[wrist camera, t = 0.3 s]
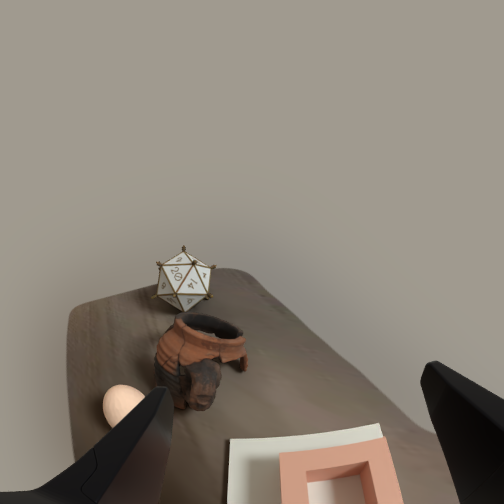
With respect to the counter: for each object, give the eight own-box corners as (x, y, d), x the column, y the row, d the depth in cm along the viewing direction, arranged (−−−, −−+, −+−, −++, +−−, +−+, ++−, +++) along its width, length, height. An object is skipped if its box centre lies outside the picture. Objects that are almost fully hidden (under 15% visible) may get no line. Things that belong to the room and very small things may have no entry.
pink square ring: (394, 533, 12) (408, 525, 10) (283, 553, 12) (284, 550, 11) (375, 452, 19) (385, 436, 18) (279, 466, 19) (279, 452, 18)
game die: (207, 326, 43) (235, 292, 36) (149, 328, 38) (166, 291, 32) (195, 275, 48) (219, 234, 41) (143, 272, 43) (158, 228, 37)
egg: (158, 406, 26) (140, 369, 23) (161, 443, 22) (140, 409, 20) (117, 411, 25) (94, 375, 23) (117, 447, 21) (90, 414, 19)
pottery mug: (148, 365, 32) (162, 300, 31) (224, 378, 35) (243, 318, 34) (150, 433, 21) (167, 351, 20) (254, 441, 24) (284, 369, 23)
